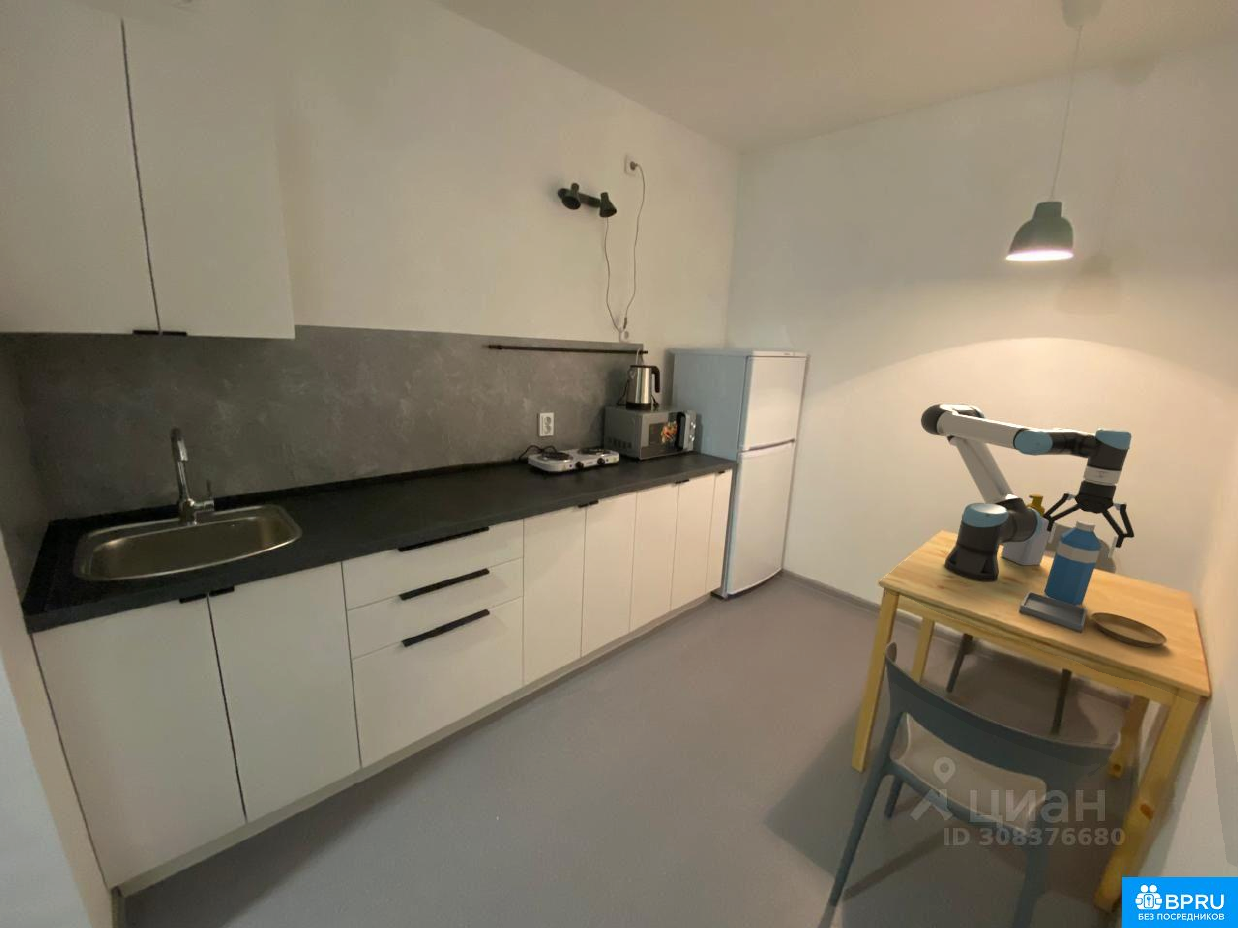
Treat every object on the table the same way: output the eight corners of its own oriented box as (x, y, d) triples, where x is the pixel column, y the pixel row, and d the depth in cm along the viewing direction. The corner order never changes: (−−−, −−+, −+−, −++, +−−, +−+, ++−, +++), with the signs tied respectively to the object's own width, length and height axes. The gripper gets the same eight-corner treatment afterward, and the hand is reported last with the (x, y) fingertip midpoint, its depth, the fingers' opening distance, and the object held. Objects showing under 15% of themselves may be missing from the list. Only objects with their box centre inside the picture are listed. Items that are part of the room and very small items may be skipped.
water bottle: (1090, 607, 149) (1116, 530, 143) (1055, 602, 151) (1078, 526, 145) (1069, 592, 158) (1093, 519, 152) (1036, 588, 160) (1058, 515, 153)
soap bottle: (998, 555, 184) (1016, 491, 178) (1017, 554, 186) (1035, 491, 180) (1022, 566, 176) (1042, 499, 169) (1042, 565, 178) (1061, 499, 172)
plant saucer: (1125, 621, 143) (1128, 613, 142) (1180, 653, 128) (1184, 644, 128) (1074, 618, 143) (1077, 610, 142) (1123, 649, 129) (1126, 641, 128)
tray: (1018, 611, 144) (1020, 605, 144) (1026, 597, 153) (1028, 590, 153) (1081, 633, 135) (1083, 626, 134) (1085, 616, 144) (1087, 609, 143)
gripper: (1043, 474, 151) (1025, 538, 156) (1161, 495, 134) (1137, 567, 139) (1046, 470, 156) (1029, 533, 161) (1160, 490, 139) (1137, 560, 144)
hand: (1079, 549), depth 150 cm, fingers open, 13 cm apart
